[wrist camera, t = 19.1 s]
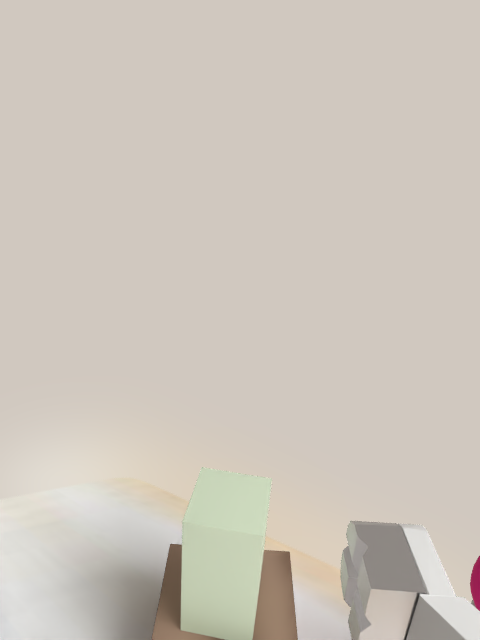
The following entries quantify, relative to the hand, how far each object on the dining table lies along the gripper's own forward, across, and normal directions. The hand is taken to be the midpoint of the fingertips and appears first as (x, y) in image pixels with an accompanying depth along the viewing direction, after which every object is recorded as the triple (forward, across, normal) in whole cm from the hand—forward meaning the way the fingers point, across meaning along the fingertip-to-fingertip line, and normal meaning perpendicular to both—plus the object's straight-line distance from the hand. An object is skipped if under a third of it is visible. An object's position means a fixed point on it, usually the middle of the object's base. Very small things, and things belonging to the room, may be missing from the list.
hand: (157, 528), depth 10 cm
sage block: (+16, -2, +24) cm, 29 cm away
